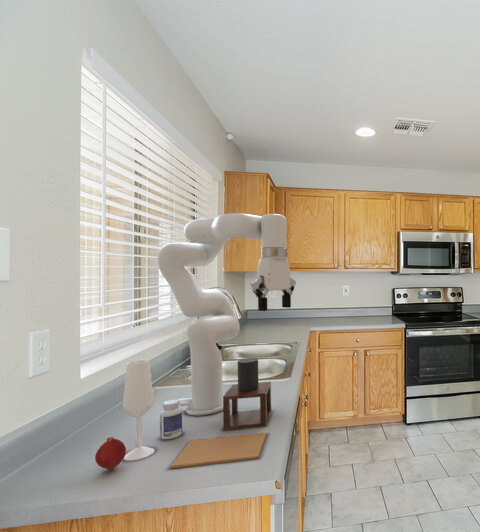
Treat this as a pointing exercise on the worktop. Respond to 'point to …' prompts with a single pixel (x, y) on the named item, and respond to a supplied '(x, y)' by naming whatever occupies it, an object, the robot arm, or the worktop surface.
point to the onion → (110, 453)
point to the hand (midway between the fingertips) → (275, 309)
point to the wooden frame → (247, 417)
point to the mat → (220, 450)
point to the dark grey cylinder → (247, 374)
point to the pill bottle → (171, 420)
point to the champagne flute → (138, 402)
